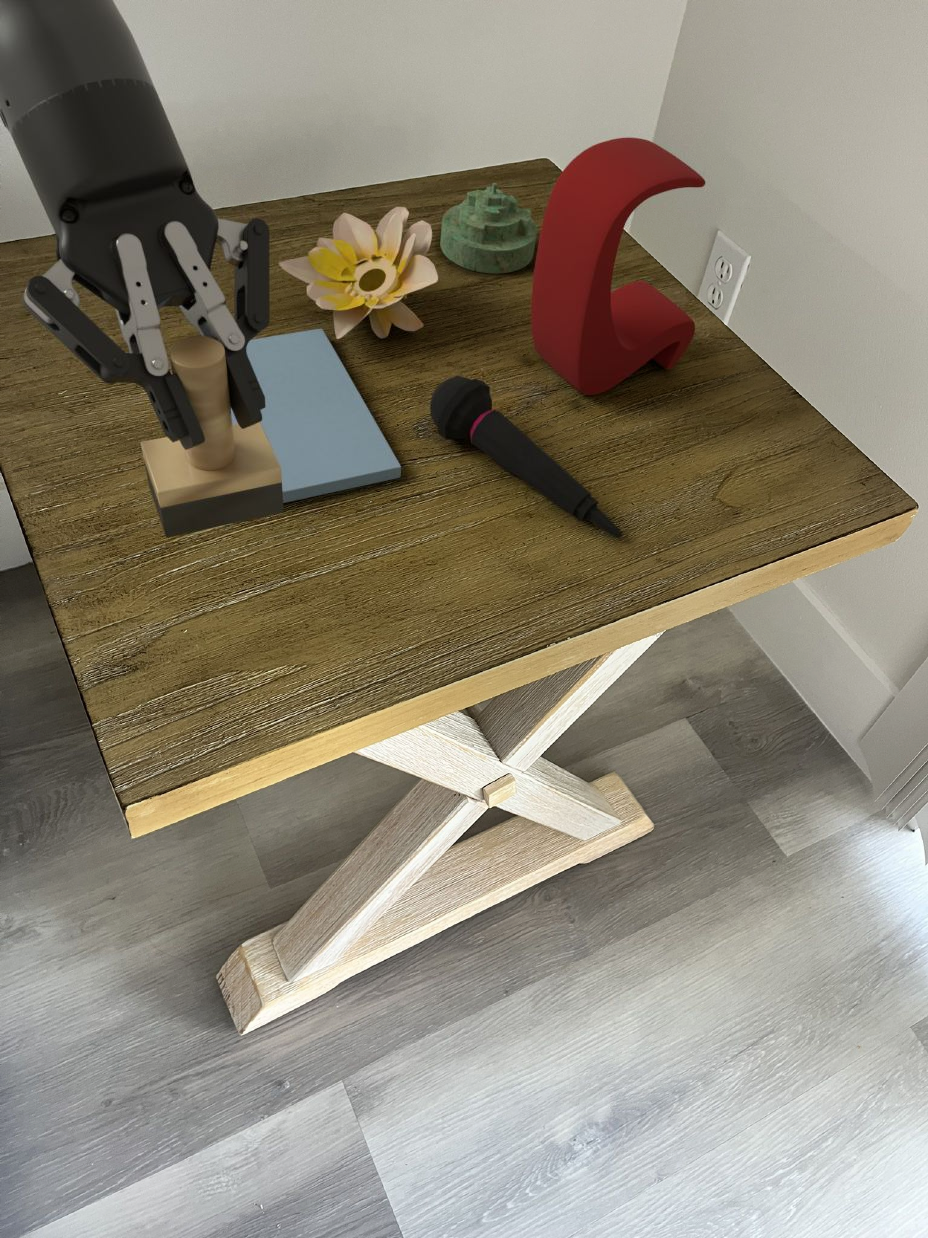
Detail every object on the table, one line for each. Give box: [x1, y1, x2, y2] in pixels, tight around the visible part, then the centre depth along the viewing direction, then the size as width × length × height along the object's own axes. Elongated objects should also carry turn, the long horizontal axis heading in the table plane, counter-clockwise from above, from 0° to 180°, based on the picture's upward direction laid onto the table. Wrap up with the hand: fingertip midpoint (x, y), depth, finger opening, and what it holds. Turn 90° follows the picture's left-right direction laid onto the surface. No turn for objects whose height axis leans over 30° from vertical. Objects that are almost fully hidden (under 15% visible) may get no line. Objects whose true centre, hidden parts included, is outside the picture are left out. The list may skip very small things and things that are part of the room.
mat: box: [231, 328, 402, 504], centre depth 83 cm, size 12×20×1 cm, turn 24°
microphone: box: [429, 375, 623, 539], centre depth 80 cm, size 6×6×20 cm
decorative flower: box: [278, 206, 439, 340], centre depth 91 cm, size 15×11×10 cm
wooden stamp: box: [140, 335, 285, 539], centre depth 55 cm, size 7×4×11 cm, turn 114°
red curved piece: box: [530, 136, 706, 396], centre depth 85 cm, size 15×7×20 cm, turn 123°
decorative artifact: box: [439, 182, 538, 275], centre depth 102 cm, size 10×7×10 cm
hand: (224, 433), depth 53 cm, fingers closed on wooden stamp, 3 cm apart
